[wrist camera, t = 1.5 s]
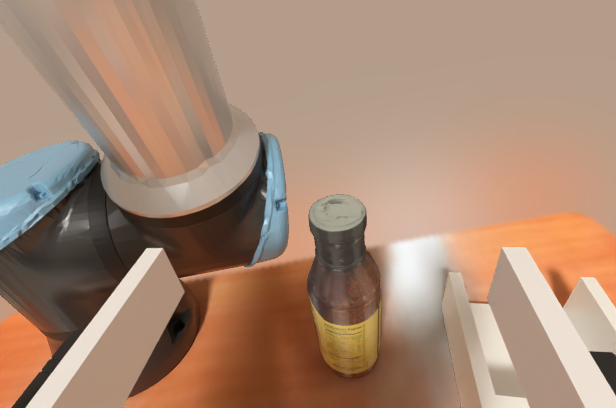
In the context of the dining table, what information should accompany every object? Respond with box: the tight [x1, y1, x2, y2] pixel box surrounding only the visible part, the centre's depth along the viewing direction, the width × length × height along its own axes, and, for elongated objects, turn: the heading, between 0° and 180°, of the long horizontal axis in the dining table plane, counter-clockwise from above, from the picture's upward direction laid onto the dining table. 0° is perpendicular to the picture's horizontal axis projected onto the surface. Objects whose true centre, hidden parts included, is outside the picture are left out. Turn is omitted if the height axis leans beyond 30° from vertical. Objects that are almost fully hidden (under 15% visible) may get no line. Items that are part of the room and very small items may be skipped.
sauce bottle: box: [307, 194, 381, 378], centre depth 29 cm, size 6×6×20 cm
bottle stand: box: [441, 272, 616, 408], centre depth 30 cm, size 13×13×6 cm
